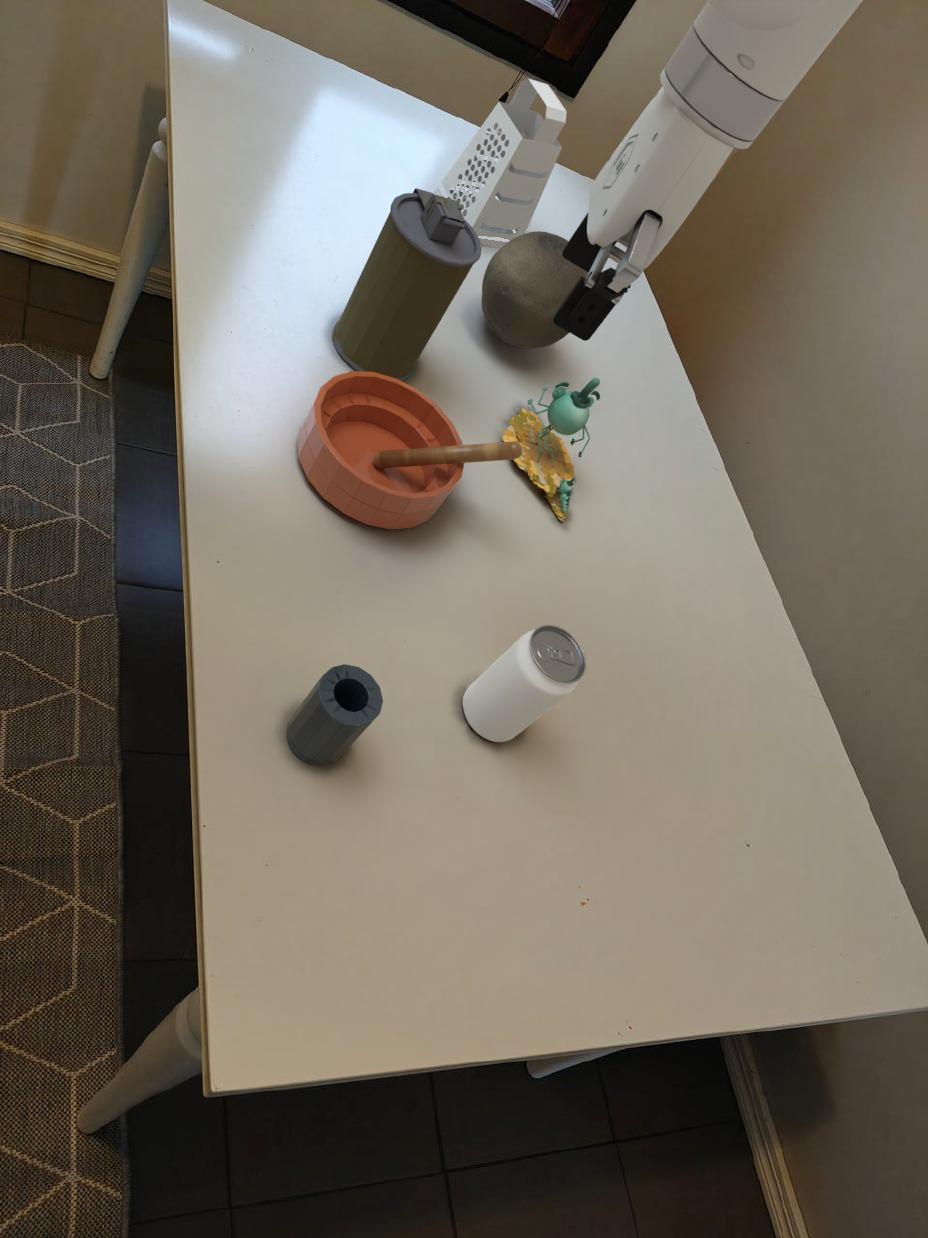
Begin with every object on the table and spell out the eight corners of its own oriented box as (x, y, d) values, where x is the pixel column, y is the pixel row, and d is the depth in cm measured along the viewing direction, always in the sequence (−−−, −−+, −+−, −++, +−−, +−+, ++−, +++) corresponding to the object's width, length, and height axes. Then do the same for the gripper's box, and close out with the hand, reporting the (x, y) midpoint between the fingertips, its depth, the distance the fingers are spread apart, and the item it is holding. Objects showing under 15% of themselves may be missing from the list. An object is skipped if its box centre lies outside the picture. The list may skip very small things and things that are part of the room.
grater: (463, 242, 123) (535, 112, 109) (434, 192, 127) (500, 60, 112) (517, 249, 130) (593, 128, 115) (488, 202, 133) (557, 78, 119)
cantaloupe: (459, 284, 117) (514, 189, 106) (547, 326, 122) (608, 240, 111) (456, 349, 109) (515, 254, 98) (550, 392, 114) (616, 305, 103)
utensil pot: (278, 753, 69) (311, 711, 63) (295, 699, 72) (328, 654, 66) (337, 775, 71) (374, 736, 65) (351, 720, 74) (388, 679, 68)
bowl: (275, 488, 83) (295, 448, 79) (317, 387, 93) (337, 346, 89) (425, 557, 88) (451, 523, 83) (449, 454, 98) (474, 418, 94)
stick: (369, 454, 89) (520, 444, 85) (373, 449, 90) (522, 438, 87) (372, 471, 90) (522, 461, 86) (376, 465, 91) (523, 455, 88)
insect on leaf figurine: (508, 510, 98) (576, 412, 88) (485, 410, 109) (543, 313, 99) (578, 529, 102) (651, 437, 92) (549, 431, 113) (611, 339, 103)
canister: (423, 388, 102) (507, 251, 87) (343, 377, 96) (419, 228, 82) (399, 322, 106) (475, 182, 92) (321, 308, 101) (389, 155, 86)
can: (457, 677, 82) (521, 614, 73) (515, 687, 84) (584, 627, 76) (463, 739, 78) (531, 681, 70) (523, 748, 81) (596, 692, 72)
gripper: (672, 10, 59) (542, 218, 72) (675, 110, 49) (521, 334, 61) (756, 72, 62) (615, 263, 74) (776, 180, 51) (608, 383, 63)
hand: (573, 295), depth 68 cm, fingers open, 9 cm apart
